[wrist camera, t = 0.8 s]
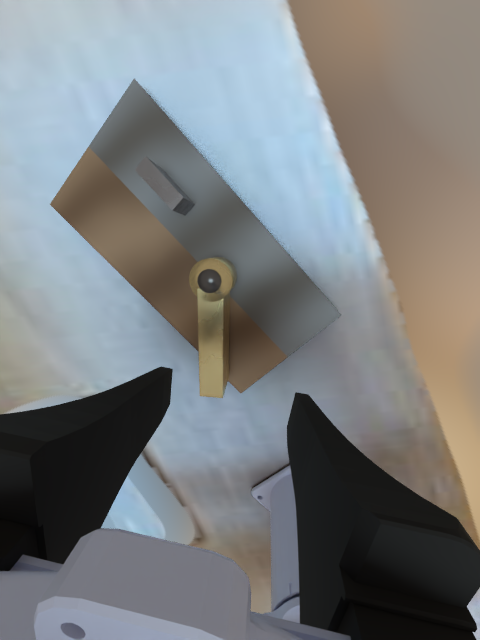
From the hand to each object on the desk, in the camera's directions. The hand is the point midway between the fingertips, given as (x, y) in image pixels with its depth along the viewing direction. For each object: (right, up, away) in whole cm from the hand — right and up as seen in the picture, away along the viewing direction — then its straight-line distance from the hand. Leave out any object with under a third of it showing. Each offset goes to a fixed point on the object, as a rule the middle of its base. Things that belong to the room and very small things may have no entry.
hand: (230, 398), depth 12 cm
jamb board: (-3, +8, +7) cm, 11 cm away
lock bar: (-1, +4, +6) cm, 7 cm away
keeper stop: (-4, +12, +4) cm, 14 cm away
